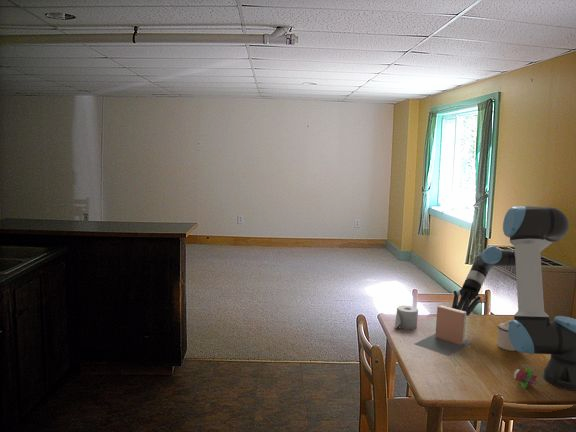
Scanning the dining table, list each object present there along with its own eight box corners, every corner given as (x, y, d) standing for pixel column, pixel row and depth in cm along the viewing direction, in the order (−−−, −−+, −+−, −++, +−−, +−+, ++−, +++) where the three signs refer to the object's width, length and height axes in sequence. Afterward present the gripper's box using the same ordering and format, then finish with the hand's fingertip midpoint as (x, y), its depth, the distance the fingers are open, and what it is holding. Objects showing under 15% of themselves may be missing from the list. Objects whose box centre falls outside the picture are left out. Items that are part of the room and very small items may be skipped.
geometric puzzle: (535, 376, 181) (523, 359, 180) (545, 385, 174) (533, 367, 173) (518, 387, 181) (507, 370, 180) (528, 396, 174) (516, 379, 173)
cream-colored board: (438, 335, 223) (440, 305, 222) (464, 343, 215) (466, 311, 213) (435, 336, 221) (437, 306, 219) (460, 344, 213) (463, 313, 211)
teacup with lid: (519, 352, 207) (521, 326, 205) (495, 348, 211) (497, 322, 209) (519, 343, 218) (521, 317, 216) (497, 339, 222) (499, 314, 220)
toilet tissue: (392, 330, 230) (393, 312, 228) (399, 321, 241) (400, 304, 240) (411, 333, 226) (412, 315, 224) (418, 325, 237) (419, 307, 236)
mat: (439, 332, 228) (439, 331, 228) (473, 342, 217) (473, 341, 217) (413, 344, 213) (413, 343, 213) (448, 356, 201) (448, 355, 201)
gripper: (489, 290, 226) (470, 334, 217) (462, 284, 236) (442, 326, 226) (485, 281, 222) (465, 325, 213) (458, 275, 231) (437, 317, 222)
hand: (453, 326), depth 219 cm, fingers closed
